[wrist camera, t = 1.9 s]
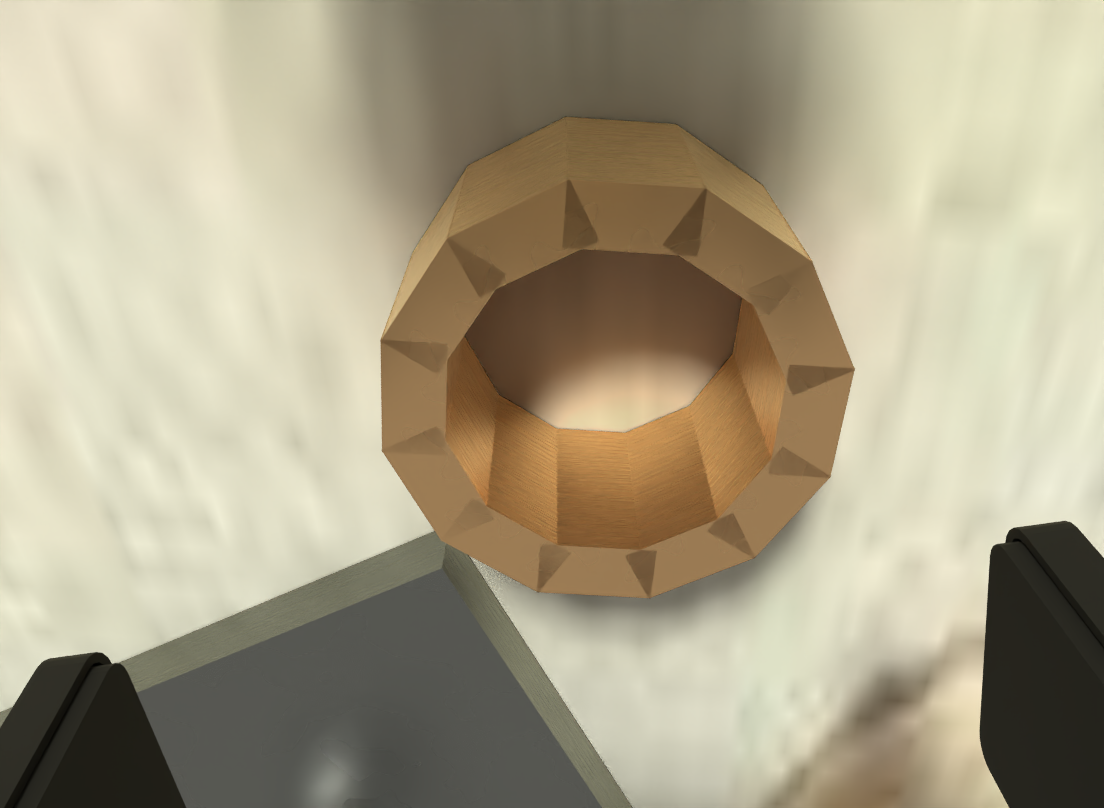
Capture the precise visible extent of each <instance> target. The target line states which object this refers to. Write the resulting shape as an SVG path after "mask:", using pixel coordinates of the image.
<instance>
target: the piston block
mask: <svg viewBox="0 0 1104 808" xmlns="http://www.w3.org/2000/svg"><path fill="white" fill-rule="evenodd" d="M118 664H121V665H123V666H124V667H125V669H126V670H127V672H128V674H129V676H130V678H131V681H132V683H133V685H134V688H135V690H136V692H137V695H138V697H139V699H140V702H141V704H142V706H143V709H144V711H145V713H146V716H147V718H148V720H149V722H150V725H151V727H152V729H153V732H154V734H155V736H156V739H157V741H158V743H159V746H160V748H161V750H162V753H163V755H164V757H165V760H166V762H167V764H168V767H169V769H170V771H171V773H172V776H173V778H174V780H175V783H176V785H177V787H178V790H179V792H180V794H181V797H182V799H183V801H184V804H185V806H186V808H632V806H631V805H630V803H629V802H628V800H627V799H626V797H625V796H624V794H623V793H622V791H621V790H620V788H619V786H618V785H617V783H616V782H615V780H614V779H613V777H612V776H611V774H610V773H609V771H608V770H607V768H606V766H605V765H604V763H603V762H602V760H601V759H600V757H599V756H598V754H597V753H596V751H595V750H594V748H593V746H592V745H591V743H590V742H589V740H588V739H587V737H586V736H585V734H584V733H583V731H582V730H581V728H580V726H579V725H578V723H577V722H576V720H575V719H574V717H573V716H572V714H571V713H570V711H569V710H568V708H567V706H566V705H565V703H564V702H563V700H562V699H561V697H560V696H559V694H558V693H557V691H556V690H555V688H554V686H553V685H552V683H551V682H550V680H549V679H548V677H547V676H546V674H545V673H544V671H543V670H542V668H541V666H540V665H539V663H538V662H537V660H536V659H535V657H534V656H533V654H532V653H531V651H530V650H529V648H528V646H527V645H526V643H525V642H524V640H523V639H522V637H521V636H520V634H519V633H518V631H517V630H516V628H515V626H514V625H513V623H512V622H511V620H510V619H509V617H508V616H507V614H506V613H505V611H504V610H503V608H502V606H501V605H500V603H499V602H498V600H497V599H496V597H495V596H494V594H493V593H492V591H491V590H490V588H489V586H488V585H487V583H486V582H485V580H484V579H483V577H482V576H481V574H480V573H479V571H478V570H477V568H476V566H475V565H474V563H473V562H472V560H471V559H470V557H469V556H468V555H467V554H465V553H463V552H462V551H460V550H458V549H456V548H454V547H452V546H450V545H448V544H447V543H445V542H443V541H441V539H440V538H439V536H438V535H437V533H436V532H435V531H434V532H432V533H429V534H427V535H424V536H422V537H420V538H417V539H415V540H412V541H410V542H408V543H405V544H403V545H400V546H398V547H396V548H393V549H391V550H388V551H386V552H384V553H381V554H379V555H376V556H374V557H372V558H369V559H367V560H364V561H362V562H360V563H357V564H355V565H352V566H350V567H348V568H345V569H343V570H340V571H338V572H336V573H333V574H331V575H328V576H326V577H324V578H321V579H319V580H316V581H314V582H312V583H309V584H307V585H305V586H302V587H300V588H297V589H295V590H293V591H290V592H288V593H285V594H283V595H281V596H278V597H276V598H273V599H271V600H269V601H266V602H264V603H261V604H259V605H257V606H254V607H252V608H249V609H247V610H245V611H242V612H240V613H237V614H235V615H233V616H230V617H228V618H225V619H223V620H221V621H218V622H216V623H213V624H211V625H209V626H206V627H204V628H201V629H199V630H197V631H194V632H192V633H189V634H187V635H185V636H182V637H180V638H177V639H175V640H173V641H170V642H168V643H165V644H163V645H161V646H158V647H156V648H153V649H151V650H149V651H146V652H144V653H141V654H139V655H137V656H134V657H132V658H130V659H127V660H125V661H122V662H120V663H118ZM12 708H13V707H12ZM12 708H10V709H7V710H5V711H2V712H0V727H1V726H2V724H3V722H4V721H5V719H6V717H7V716H8V714H9V713H10V711H11V709H12Z"/></svg>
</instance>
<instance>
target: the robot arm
mask: <svg viewBox="0 0 1104 808" xmlns="http://www.w3.org/2000/svg"><path fill="white" fill-rule="evenodd" d="M980 742H981V747H982V751H983V755H984V758H985V761H986V764H987V766H988V768H989V770H990V772H991V774H992V776H993V778H994V780H995V782H996V783H997V785H998V787H999V789H1000V791H1001V793H1002V795H1003V797H1004V798H1005V800H1006V802H1007V804H1008V806H1009V808H1104V558H1103V557H1102V555H1101V554H1100V553H1099V552H1098V551H1097V550H1096V549H1095V547H1094V546H1093V545H1092V544H1091V543H1090V542H1089V541H1088V539H1087V538H1086V537H1085V536H1084V535H1083V534H1082V533H1081V531H1080V530H1079V529H1078V528H1077V527H1076V526H1075V525H1073V524H1072V523H1071V522H1067V521H1061V522H1054V523H1046V524H1039V525H1031V526H1024V527H1017V528H1013V529H1011V530H1009V532H1008V534H1007V536H1006V542H1005V543H1003V544H996V545H994V546H993V548H992V550H991V554H990V566H989V583H988V600H987V616H986V633H985V650H984V666H983V683H982V700H981V716H980ZM0 808H186V806H185V804H184V801H183V799H182V797H181V794H180V792H179V790H178V787H177V785H176V783H175V780H174V778H173V776H172V773H171V771H170V769H169V767H168V764H167V762H166V760H165V757H164V755H163V753H162V750H161V748H160V746H159V743H158V741H157V739H156V736H155V734H154V732H153V729H152V727H151V725H150V722H149V720H148V718H147V716H146V713H145V711H144V709H143V706H142V704H141V702H140V699H139V697H138V695H137V692H136V690H135V688H134V685H133V683H132V681H131V678H130V676H129V674H128V672H127V670H126V669H125V667H124V666H123V665H121V664H118V663H114V664H112V663H111V662H110V660H109V658H108V657H107V656H105V655H104V654H103V653H98V652H95V653H87V654H80V655H73V656H65V657H58V658H51V659H47V660H45V661H43V662H42V663H41V664H40V665H39V666H38V668H37V669H36V670H35V672H34V674H33V675H32V677H31V678H30V680H29V682H28V683H27V685H26V687H25V688H24V690H23V691H22V693H21V695H20V696H19V698H18V700H17V701H16V703H15V704H14V706H13V708H12V709H11V711H10V713H9V714H8V716H7V717H6V719H5V721H4V722H3V724H2V726H1V727H0Z"/></svg>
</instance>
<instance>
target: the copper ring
mask: <svg viewBox="0 0 1104 808" xmlns="http://www.w3.org/2000/svg"><path fill="white" fill-rule="evenodd" d="M581 249H587V250H603V251H619V252H634V253H650V254H666V255H679V256H680V257H682V258H683V259H685V260H686V261H688V262H689V263H691V264H692V265H694V266H695V267H697V268H698V269H700V270H701V271H703V272H704V273H706V274H707V275H709V276H710V277H712V278H713V279H715V280H716V281H718V282H719V283H721V284H722V285H724V286H725V287H727V288H728V289H730V290H731V291H733V292H734V293H736V294H737V295H739V296H740V297H742V301H741V307H740V313H739V319H738V325H737V331H736V337H735V344H734V350H733V354H732V355H731V356H730V357H729V359H728V360H727V361H726V362H725V363H724V365H723V366H722V367H721V368H720V370H719V371H718V372H717V373H716V374H715V376H714V377H713V378H712V379H711V380H710V382H709V383H708V384H707V385H706V386H705V388H704V389H703V390H702V391H701V392H700V394H699V395H698V396H697V397H696V398H695V400H694V401H693V402H692V403H691V405H690V406H688V407H686V408H683V409H681V410H679V411H676V412H674V413H671V414H669V415H667V416H664V417H662V418H660V419H657V420H655V421H652V422H650V423H648V424H645V425H643V426H641V427H638V428H636V429H633V430H631V431H629V432H626V433H620V432H603V431H586V430H569V429H556V428H555V427H553V426H551V425H549V424H548V423H546V422H544V421H543V420H541V419H539V418H538V417H536V416H534V415H532V414H531V413H529V412H527V411H526V410H524V409H522V408H520V407H519V406H517V405H515V404H514V403H512V402H510V401H509V400H507V399H505V398H503V397H502V396H500V395H498V393H497V391H496V389H495V388H494V386H493V384H492V383H491V381H490V379H489V377H488V376H487V374H486V372H485V370H484V369H483V367H482V365H481V364H480V362H479V360H478V358H477V357H476V355H475V353H474V352H473V350H472V348H471V346H470V345H469V343H468V341H467V340H466V338H465V334H466V332H467V331H468V329H469V328H470V326H471V325H472V323H473V322H474V321H475V319H476V318H477V316H478V315H479V313H480V312H481V310H482V309H483V307H484V306H485V305H486V303H487V302H488V300H489V299H490V297H491V296H492V294H493V293H494V291H495V290H496V289H498V288H500V287H502V286H504V285H506V284H508V283H510V282H513V281H515V280H517V279H519V278H521V277H523V276H525V275H528V274H530V273H532V272H534V271H536V270H538V269H540V268H543V267H545V266H547V265H549V264H551V263H553V262H555V261H558V260H560V259H562V258H564V257H566V256H568V255H570V254H573V253H575V252H577V251H579V250H581ZM854 370H855V368H854V366H853V364H852V362H851V359H850V357H849V354H848V352H847V349H846V346H845V344H844V341H843V339H842V336H841V334H840V331H839V329H838V326H837V324H836V321H835V319H834V316H833V314H832V311H831V308H830V306H829V303H828V301H827V298H826V296H825V293H824V291H823V288H822V286H821V283H820V281H819V278H818V276H817V273H816V270H815V268H814V265H813V263H812V260H811V259H810V257H809V255H808V254H807V252H806V251H805V249H804V248H803V246H802V245H801V243H800V242H799V240H798V238H797V237H796V235H795V234H794V232H793V231H792V229H791V228H790V226H789V225H788V223H787V221H786V220H785V218H784V217H783V215H782V214H781V212H780V211H779V209H778V208H777V206H776V205H775V203H774V201H773V200H772V198H771V197H770V195H769V194H768V192H767V191H766V189H765V188H764V186H763V185H762V184H760V183H759V182H758V181H756V180H755V179H753V178H752V177H751V176H749V175H748V174H746V173H745V172H743V171H742V170H741V169H739V168H738V167H736V166H735V165H733V164H732V163H731V162H729V161H728V160H726V159H725V158H724V157H722V156H721V155H719V154H718V153H716V152H715V151H714V150H712V149H711V148H709V147H708V146H706V145H705V144H704V143H702V142H701V141H699V140H698V139H697V138H695V137H694V136H692V135H691V134H689V133H688V132H687V131H685V130H684V129H682V128H681V127H679V126H678V125H677V124H666V123H651V122H636V121H622V120H607V119H592V118H577V117H567V116H566V117H564V118H562V119H560V120H558V121H556V122H554V123H552V124H550V125H548V126H546V127H544V128H542V129H540V130H538V131H536V132H534V133H532V134H530V135H528V136H526V137H524V138H522V139H520V140H518V141H516V142H514V143H512V144H510V145H508V146H506V147H504V148H502V149H500V150H498V151H496V152H494V153H492V154H490V155H488V156H486V157H484V158H482V159H480V160H478V161H476V162H474V163H472V164H470V165H468V166H467V168H466V169H465V171H464V172H463V174H462V176H461V177H460V179H459V180H458V182H457V183H456V185H455V187H454V188H453V190H452V191H451V193H450V194H449V196H448V198H447V199H446V201H445V202H444V204H443V205H442V207H441V209H440V210H439V212H438V213H437V215H436V217H435V218H434V220H433V221H432V223H431V224H430V226H429V228H428V229H427V231H426V232H425V234H424V235H423V237H422V239H421V240H420V242H419V243H418V245H417V246H416V248H415V250H414V251H413V253H412V256H411V258H410V261H409V264H408V266H407V269H406V272H405V275H404V277H403V280H402V283H401V286H400V288H399V291H398V294H397V297H396V299H395V302H394V305H393V307H392V310H391V313H390V316H389V318H388V321H387V324H386V327H385V329H384V332H383V335H382V337H381V400H382V452H383V453H384V455H385V456H386V458H387V459H388V461H389V462H390V464H391V465H392V467H393V468H394V470H395V471H396V473H397V474H398V476H399V477H400V479H401V480H402V482H403V483H404V485H405V486H406V488H407V489H408V491H409V492H410V494H411V496H412V497H413V499H414V500H415V502H416V503H417V505H418V506H419V508H420V509H421V511H422V512H423V514H424V515H425V517H426V518H427V520H428V521H429V523H430V524H431V526H432V527H433V529H434V530H435V532H436V533H437V535H438V536H439V538H440V539H441V541H443V542H445V543H447V544H448V545H450V546H452V547H454V548H456V549H458V550H460V551H462V552H463V553H465V554H467V555H469V556H471V557H473V558H475V559H477V560H478V561H480V562H482V563H484V564H486V565H488V566H490V567H492V568H493V569H495V570H497V571H499V572H501V573H503V574H505V575H507V576H508V577H510V578H512V579H514V580H516V581H518V582H520V583H522V584H523V585H525V586H527V587H529V588H531V589H533V590H535V591H537V592H545V593H563V594H582V595H600V596H619V597H637V598H651V597H654V596H656V595H659V594H662V593H664V592H667V591H669V590H672V589H675V588H677V587H680V586H683V585H685V584H688V583H690V582H693V581H696V580H698V579H701V578H703V577H706V576H709V575H711V574H714V573H717V572H719V571H722V570H724V569H727V568H730V567H732V566H735V565H737V564H740V563H743V562H745V561H748V560H751V559H753V558H755V557H756V556H757V555H758V554H759V553H760V552H761V550H762V549H763V548H764V547H765V546H766V545H767V544H768V543H769V542H770V541H771V540H772V539H773V538H774V537H775V536H776V534H777V533H778V532H779V531H780V530H781V529H782V528H783V527H784V526H785V525H786V524H787V523H788V522H789V521H790V519H791V518H792V517H793V516H794V515H795V514H796V513H797V512H798V511H799V510H800V509H801V508H802V507H803V506H804V505H805V503H806V502H807V501H808V500H809V499H810V498H811V497H812V496H813V495H814V494H815V493H816V492H817V491H818V490H819V488H820V487H821V486H822V485H823V484H824V483H825V482H826V481H827V480H828V479H829V478H830V477H831V471H832V467H833V463H834V458H835V454H836V449H837V445H838V440H839V436H840V432H841V427H842V423H843V418H844V414H845V409H846V405H847V401H848V396H849V392H850V387H851V383H852V378H853V374H854Z"/></svg>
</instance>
